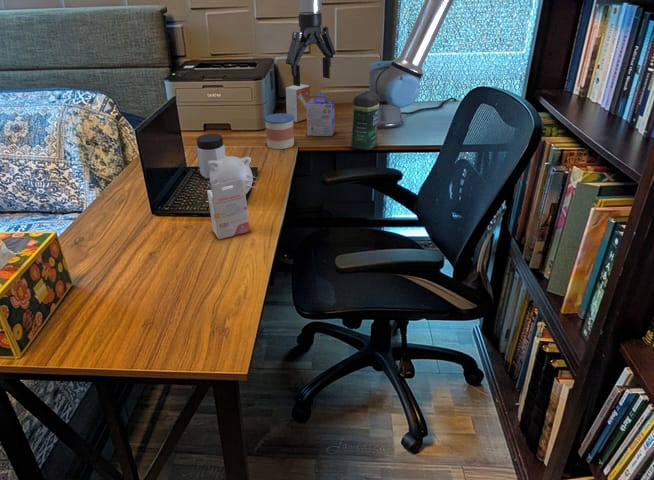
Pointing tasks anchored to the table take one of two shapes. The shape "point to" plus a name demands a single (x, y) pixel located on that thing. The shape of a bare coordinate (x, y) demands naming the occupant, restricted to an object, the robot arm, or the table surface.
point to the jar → (209, 151)
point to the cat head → (231, 171)
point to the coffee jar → (365, 120)
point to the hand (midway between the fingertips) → (311, 81)
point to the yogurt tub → (280, 130)
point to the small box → (297, 101)
